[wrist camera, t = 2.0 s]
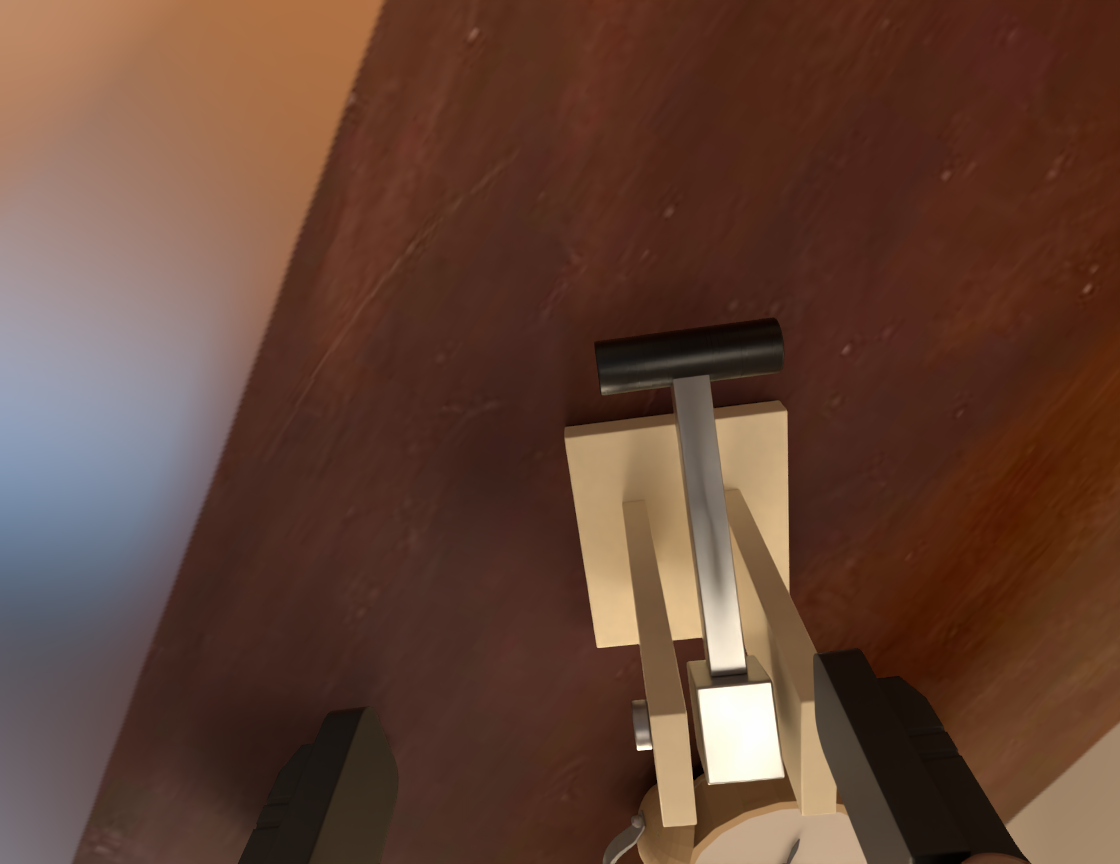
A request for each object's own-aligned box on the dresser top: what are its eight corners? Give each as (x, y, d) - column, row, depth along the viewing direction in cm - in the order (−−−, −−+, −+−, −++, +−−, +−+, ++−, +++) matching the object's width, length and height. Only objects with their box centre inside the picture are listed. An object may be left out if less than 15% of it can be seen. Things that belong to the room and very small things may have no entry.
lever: (595, 347, 22) (593, 335, 20) (764, 324, 22) (783, 309, 19) (645, 753, 22) (649, 790, 19) (819, 737, 21) (845, 774, 19)
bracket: (564, 426, 29) (558, 626, 17) (779, 399, 28) (926, 588, 16) (596, 631, 33) (608, 903, 21) (782, 612, 32) (901, 882, 21)
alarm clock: (895, 924, 37) (631, 1002, 36) (846, 841, 41) (610, 908, 40) (900, 780, 33) (600, 864, 31) (845, 704, 37) (580, 775, 36)
